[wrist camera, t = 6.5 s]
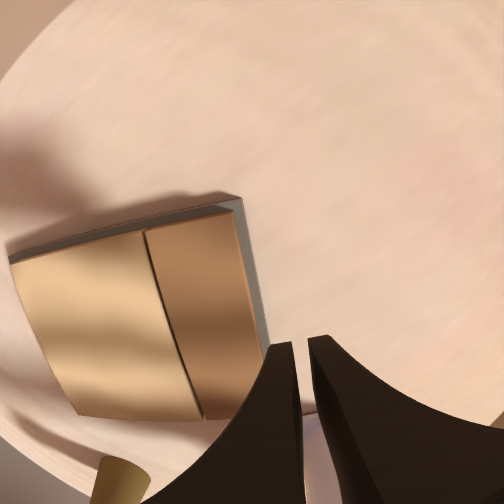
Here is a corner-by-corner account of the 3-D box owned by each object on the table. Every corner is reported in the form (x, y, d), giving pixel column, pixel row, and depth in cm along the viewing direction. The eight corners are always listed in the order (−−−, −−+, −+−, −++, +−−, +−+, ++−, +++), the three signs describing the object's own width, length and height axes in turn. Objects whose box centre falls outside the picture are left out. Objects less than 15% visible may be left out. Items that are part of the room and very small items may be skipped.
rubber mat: (279, 394, 20) (280, 403, 19) (78, 400, 21) (74, 406, 20) (242, 197, 17) (241, 199, 16) (15, 253, 18) (7, 256, 17)
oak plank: (205, 406, 19) (202, 420, 18) (85, 404, 20) (78, 415, 19) (149, 227, 16) (139, 233, 15) (22, 259, 17) (9, 265, 15)
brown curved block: (272, 399, 19) (273, 414, 18) (209, 405, 19) (206, 420, 18) (233, 210, 16) (230, 214, 14) (154, 226, 16) (144, 231, 15)
